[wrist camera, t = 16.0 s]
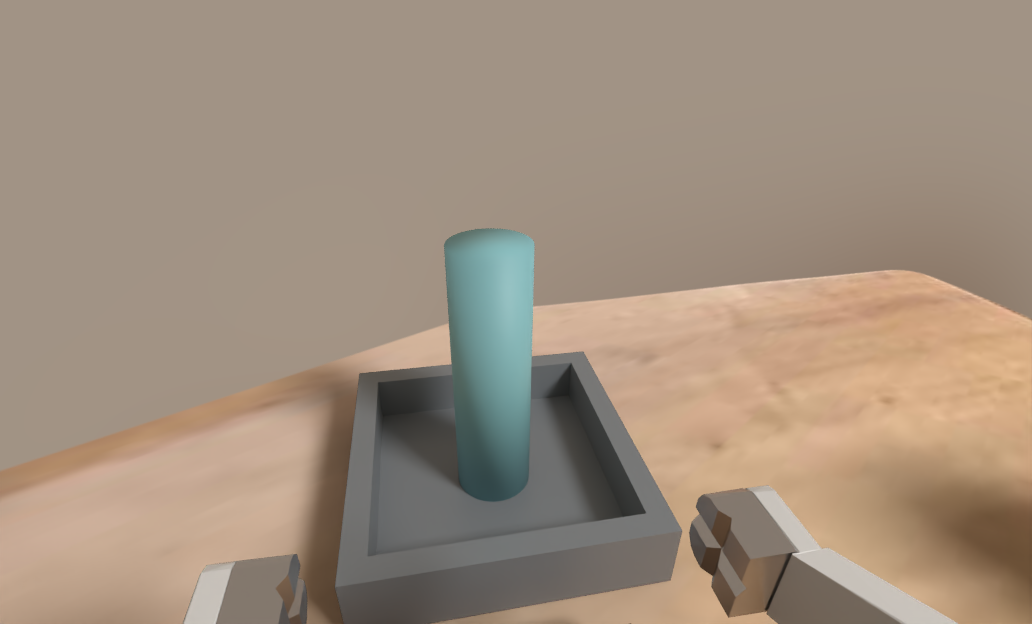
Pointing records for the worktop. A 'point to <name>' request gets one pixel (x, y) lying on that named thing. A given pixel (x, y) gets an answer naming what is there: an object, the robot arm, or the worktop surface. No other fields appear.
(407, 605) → the tray
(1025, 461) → the worktop surface
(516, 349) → the dowel
